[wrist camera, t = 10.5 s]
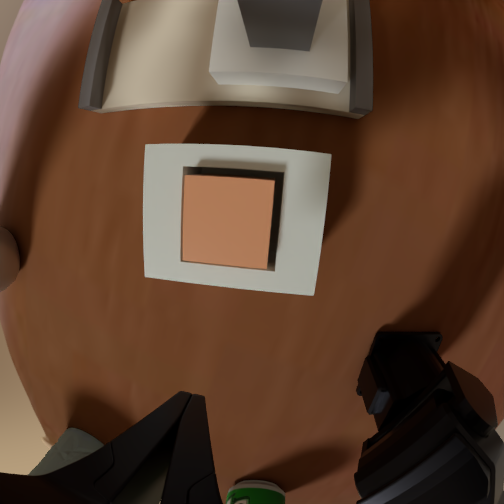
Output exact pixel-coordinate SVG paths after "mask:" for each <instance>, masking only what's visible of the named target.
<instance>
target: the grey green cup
mask: <svg viewBox="0 0 504 504" xmlns="http://www.w3.org/2000/svg"><path fill="white" fill-rule="evenodd" d="M103 446H104V444H103V443H101V442H100V441H99V440H97V439H96V438H94V437H93V436H91V435H90V434H88V433H86V432H84V431H82V430H80V429H77V428H68V429H67V430H66V431H65V432H64V433H63V434H62V436H61V437H60V438H59V439H58V442H57V443H55V445H54V446H52V447H51V449H50V450H49V451H48V452H47V454H46V455H45V457H44V458H43V459H42V460H41V462H40V463H39V464H38V465H37V466H36V467H35V468H34V469H33V470H32V471H31V472H30V474H28V475H32V476H35V475H43V474H47V473H50V472H52V471H55V470H57V469H60V468H62V467H64V466H66V465H69V464H71V463H73V462H75V461H78V460H80V459H82V458H84V457H85V456H87V455H89V454H91V453H93V452H95V451H96V450H98V449H99V448H101V447H103Z"/></svg>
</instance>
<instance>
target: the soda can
mask: <svg viewBox="0 0 504 504" xmlns="http://www.w3.org/2000/svg"><path fill="white" fill-rule="evenodd" d="M226 504H285V492H284V491H282V490H281V489H280V488H279V487H278V486H277V485H276V484H274V483H271V482H267V481H261V480H247V481H242V482H239V483H237V484H236V485H235V486H233V487H231V488H230V489H229V491H228V495H227V500H226Z"/></svg>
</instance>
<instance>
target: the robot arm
mask: <svg viewBox="0 0 504 504" xmlns="http://www.w3.org/2000/svg"><path fill="white" fill-rule="evenodd" d="M381 337H383V338H382V339H381V340H379V338H381ZM437 337H438V338H437ZM436 338H437V339H436ZM442 338H443V337H442V335H441V333H440V332H378V333H377V334H376V335H375V337H374V340H373V343H372V346H371V349H370V352H369V355H368V356H367V357H366V358H365V361H364V364H363V366H362V369H361V372H360V375H359V378H358V386H357V389H356V392H357V394H358V395H359V396H362V397H363V400H364V403H365V407H366V410H367V413H368V414H369V415H371V414H373V415H374V418H375V422H376V425H377V428H378V431H379V432H377V433H376V434H375V435H374V436H373V437H371V438H368V439H367V440H366V441H364V442H363V446H362V453H361V457H360V459H359V463H358V471H357V472H356V473H355V474H354V480H355V485H356V488H357V491H358V493H359V495H360V497H361V498H362V499H360V500H358V501H357V502H356V504H504V491H503V483H504V442H503V441H502V439H501V438H500V436H499V435H498V433H497V432H496V431H495V428H496V427H497V425H498V423H497V416H496V410H495V404H494V398H493V396H492V394H491V393H490V392H489V391H488V389H487V388H486V387H485V386H484V385H483V384H482V382H481V381H480V380H479V379H478V378H477V377H475V376H473V375H472V374H470V373H468V372H467V371H465V370H463V369H462V368H460V367H458V366H457V365H455V364H453V363H452V362H450V361H448V362H447V363H446V364H445V363H444V361H443V360H442V359H441V357H440V356H439V354H438V353H437V351H438V348H439V346H440V343H441V341H442ZM160 500H161V502H160ZM159 502H160V504H223V502H222V500H221V496H220V492H219V488H218V484H217V478H216V474H215V467H214V461H213V454H212V448H211V441H210V434H209V427H208V419H207V411H206V403H205V397H204V396H202V395H198V394H193V395H192V394H191V393H189V392H184V391H180V392H178V393H177V394H175V395H174V396H173V397H172V398H170V399H169V400H168V401H166V402H165V403H164V404H162V405H161V406H159V407H158V408H157V409H155V410H154V411H153V412H151V413H150V414H149V415H147V416H146V417H144V418H143V419H142V420H140V421H139V422H138V423H136V424H135V425H133V426H132V427H130V428H129V429H128V430H126V431H125V432H123V433H122V434H120V435H119V436H118V437H116V438H115V439H113V440H112V441H111V443H110V442H108V443H107V444H106V445H104V446H103V447H101V448H99V449H98V450H96V451H95V452H93V453H91V454H89V455H87V456H85V457H84V458H82V459H80V460H78V461H75V462H73V463H71V464H69V465H66V466H64V467H62V468H60V469H57V470H55V471H52V472H50V473H47V474H43V475H35V476H32V475H18V474H8V473H1V472H0V504H159Z"/></svg>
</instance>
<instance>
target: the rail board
mask: <svg viewBox="0 0 504 504" xmlns="http://www.w3.org/2000/svg"><path fill="white" fill-rule="evenodd" d="M218 1H219V0H136V1H132V2H128V3H124V4H122V3H121V2H120V1H119V0H102V2H101V5H100V8H99V11H98V15H97V18H96V21H95V25H94V29H93V32H92V36H91V40H90V44H89V49H88V53H87V58H86V62H85V67H84V73H83V78H82V84H81V91H80V97H79V105H78V108H80V109H85V110H90V111H94V112H99V113H107V112H115V111H123V110H132V109H143V108H156V107H173V106H250V107H267V108H280V109H291V110H301V111H309V112H317V113H324V114H331V115H338V116H344V117H350V118H355V119H359V118H361V117H363V116H364V115H366V114H368V113H369V112H371V111H372V109H373V48H372V28H371V14H370V3H369V0H346V2H347V26H348V82H347V84H346V85H345V86H344V87H343V89H342V90H341V91H340V92H339V94H335V93H329V92H322V91H315V90H307V89H298V88H287V87H275V86H260V85H218V83H217V82H216V81H215V79H214V78H213V77H212V75H211V74H210V73H209V65H210V57H211V49H212V42H213V34H214V27H215V20H216V14H217V7H218Z"/></svg>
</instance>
